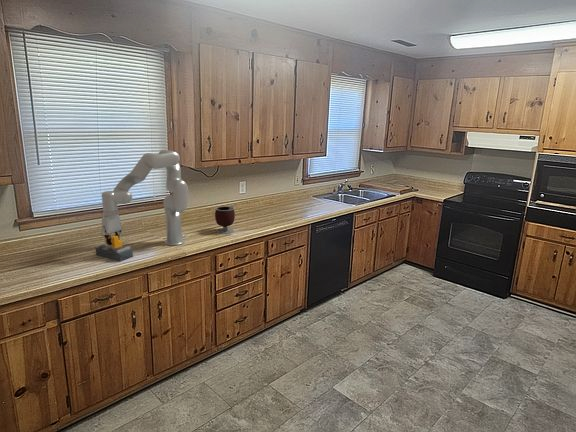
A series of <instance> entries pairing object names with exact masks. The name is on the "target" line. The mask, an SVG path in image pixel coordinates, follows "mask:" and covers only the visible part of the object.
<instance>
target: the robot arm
mask: <svg viewBox="0 0 576 432" xmlns="http://www.w3.org/2000/svg"><path fill="white" fill-rule="evenodd" d="M180 160H181V157H180V154H179V153H177V151H174V150H170V149H169V150H168V149H161V150H160V151H159V152H158V153H152V152H151V153H150V152H146V153H144V154H143V155H142V156H141V157H140V159H139V160H138V161H137V163H136V164H135V166H134V167H133V168H132V170H131V171H130V172H128V174H126V176H124V177H123V178H121V180H119V181H118V183H117V184H116V185H115V187H114V188H113V190H106V191H105V190H104V191H103V192H102V193H101V201H102V213H103V216H102V217H101V232H100V236H102V237H104V239H105V238H106V241H107V244H108V245H112V242H111V238H112V237H111V238H110V235H112V234H113V233H114V236H118V237H119V240H121V239H120V235H121V233H122V231H123V230H124V227H123V226H122V223H121V218H120V215H119V212H120V210H119V208H118V204H123V205H124V204H129V203H130V202H131V201H132V200H133V195H132V193H131V192H130V191H129V190H130V189H131V188H132V187H134V186H135V185H137V184H139V183H142V182H143V181H144V182H145V180H146V178H147V176H149V174H150V172H151V171H152V169H153V170H159V169H163V168H165V169H166V181H165V182H166V185H165V187H166V190H167V192H169V193H171V194H167V195H166V196H165V197H164V199H163V204H162V205H163V208H164V215H165V232H166V239H165V240H164V241H163V242H164V245H167V246H173V247H174V246H179V245H183V244H184V243H185V237H186V236H187V233H184V234H182V231H183V230H182V216H181V215H182V214H181V213H183V212H185V211H186V209H187V207H188V200H189V199H188V198H189V187H188V184H187V183H186V181H184V180H182V169H181V168H182V167H181V165H180ZM105 233H106V234H105Z"/></svg>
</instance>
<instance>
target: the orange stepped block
mask: <svg viewBox="0 0 576 432" xmlns="http://www.w3.org/2000/svg"><path fill="white" fill-rule="evenodd" d="M105 234H106V232H105ZM111 235H112V234H111ZM111 235H110V238H111V242H112V245H110V246H112V247H114V248H118V247H122V246H123V240H121V239H120V240H119V238H120V236H119V237H118V236H115V235H114V236H111ZM104 243H106V244H107V241H106V238H105V237H104Z"/></svg>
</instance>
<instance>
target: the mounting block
mask: <svg viewBox="0 0 576 432" xmlns="http://www.w3.org/2000/svg"><path fill="white" fill-rule="evenodd" d="M94 250H95V255H96V256H97V257H101V258H106V259H109V260H112V261H116V262H119V263H121V262H124V261H125V260H129V259H131V258H134V253H133V248H131V246H130V245H128V246H123V245H122V247H118V248H114V247H112V246H110V245H108V244H106V243H105V242H104V243H101V244H98V245H97V246H95V249H94Z"/></svg>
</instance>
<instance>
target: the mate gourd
mask: <svg viewBox="0 0 576 432" xmlns="http://www.w3.org/2000/svg"><path fill="white" fill-rule="evenodd" d="M235 205H237V203H234V204H232V205H229V206H227V205H223V206H217V207H215V210H214V211H215V212H214V218H215V223H216V224H217V225H218V226H220V227H221V228H218V229H217V230H216V233H217V234H221V235H230V234H233V233H234V231H235V229H233V228H229V227H230V226H232V225H233V223H234V222H235V216H236V214H235V213H236V212H235V208H234V207H235Z"/></svg>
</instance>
